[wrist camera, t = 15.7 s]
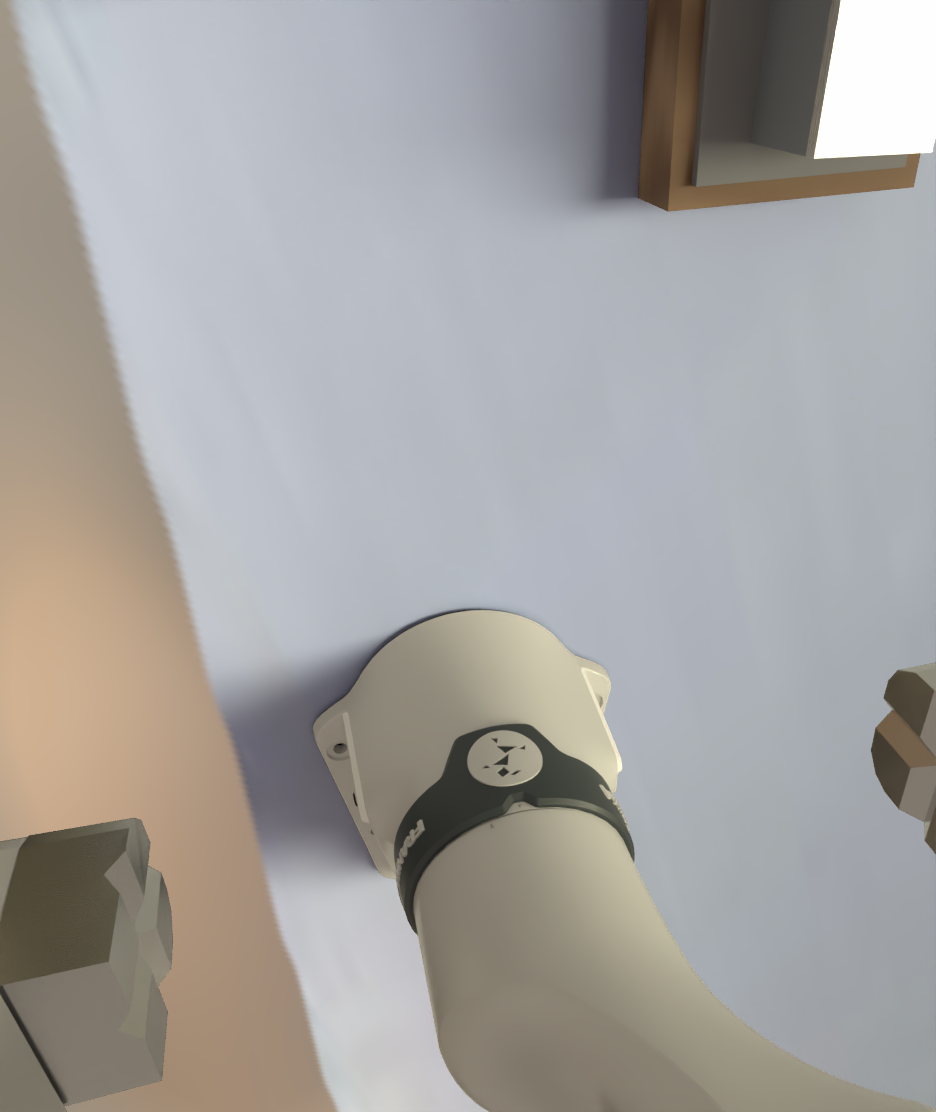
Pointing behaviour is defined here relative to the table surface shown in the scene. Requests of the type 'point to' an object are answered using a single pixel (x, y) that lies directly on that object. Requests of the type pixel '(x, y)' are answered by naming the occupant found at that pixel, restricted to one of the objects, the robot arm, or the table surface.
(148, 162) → the table surface
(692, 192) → the wooden tray
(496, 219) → the table surface
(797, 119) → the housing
